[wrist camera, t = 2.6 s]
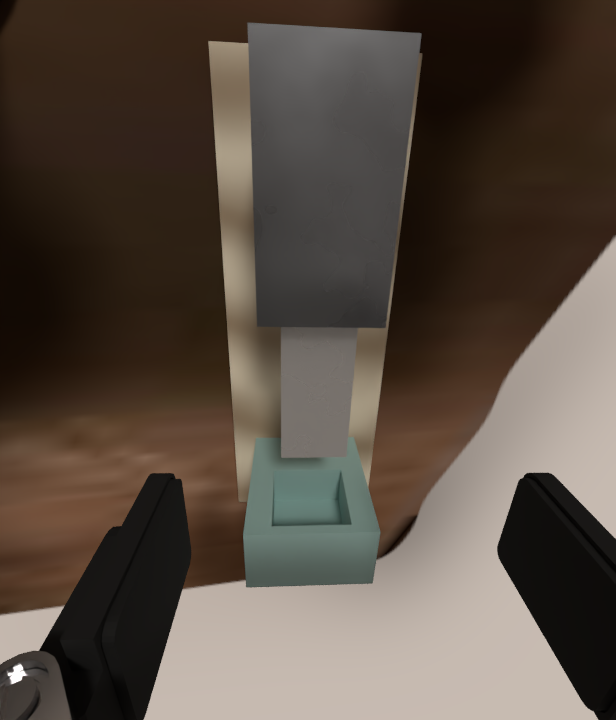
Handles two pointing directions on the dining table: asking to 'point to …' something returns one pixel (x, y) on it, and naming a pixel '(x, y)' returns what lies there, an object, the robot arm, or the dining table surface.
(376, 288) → the sleeve
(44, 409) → the dining table surface
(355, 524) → the socket block
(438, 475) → the dining table surface
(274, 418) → the base board
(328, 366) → the tube
